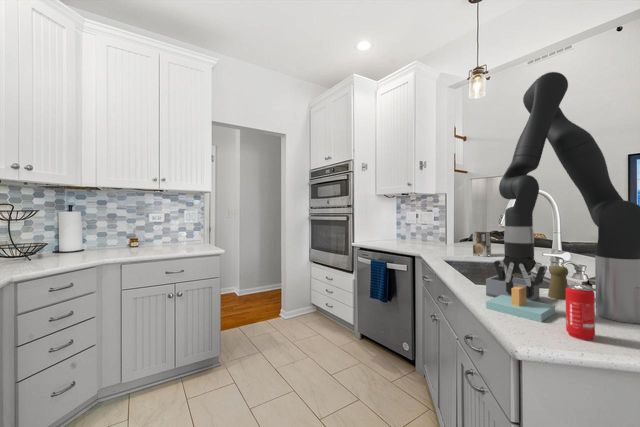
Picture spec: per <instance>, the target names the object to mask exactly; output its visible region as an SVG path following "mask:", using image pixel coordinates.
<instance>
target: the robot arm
mask: <svg viewBox="0 0 640 427" xmlns="http://www.w3.org/2000/svg"><path fill="white" fill-rule="evenodd" d="M568 89H569V81H568V79H567V77H566V76H565V75H564V74H562V73H561V72H557V71H549V72H546V73H544V74H542V75H541V76H539V77H538V78H537V79H536V80H535V81H533V83H532V84H531V85H529V87H528V88H527V90H526V91H525V92H524V95H523V97H522V98H523V99H522V100H523V106H524V107H525V109H526V111H528V113H529V117H528V119H527V122H526V124H525V126H524V127H523V130H522V132H521V134H520V136H519V137H518V140H517V143H516V145H515V148H514V153H513V156H512V160H511V163H510V164H509V166H508V167H507V168H506V170H505V172H504V174H503V176H502V177H501V179H500V182H499V184H498V186H499V187H498V192H499V194H500V195H501V197H502V198H503V199H505V200H515V201H514V203H513V206H510V207H508V208H506V209H505V211H504V230H503V231H504V232H503V242H504V244H503V246H504V247H503V248H504V249H503V250H504V257H503V259H501V260H500V259H498V260H495V261H493V263H494V264H493V265H494V267H495V270H496V273H497V275H498V276H499V279H501V280H504V281H505V282H506V291H507V292H508V294H509V295H512V292H511V288H513V282H512V280H513V278H515V275H516V274H519V275H522V277H523V279H525V281H526V284H527V286H526V298H529V299H530V298H531V297H533V296H534V286H535V285H539V286H540V285H541V284H542V282H543V280H544V277H545V275H546V272H547V270H548V267H547V265H541V264H539V263H537V262H536V259H535V233H534V226H533V225H534V224H533V223H534V221H533V218H534V216H533V213H534V209H535V207H536V204H537V200H538V197H539V194H540V193H539V192H540V186H539V183H538V182H539V181H538V180H537V179H536V178H535V177H534V176H532V175H530V174H529V173H530V172H533V171H536V169H538V167H539V165H540V162H541V158H542V154H543V152H544V148H545V144H546V141H548V142H549V145H550V146H551V148H552V149H553V151H554V153H555V155H556V157H557V159H558V160H559V162H560V164H561V166H562V167H563V169H564V170H565V172H566V173H567V175H568V177H569V178H570V180H571V181H572V182H573V184H574V186H575V187H576V188H577V189H578V191H579V193H580V194H581V196H582V199H583V200H584V203H585V206H586V207H587V210H588V213H589V215H590V217H591V220H592V222H593V224H594V225H595V226H596V227H597V229H598V230H597V231H598V232H597V236H598V238H597V243H596V246H595V247H594V254H595V255H594V257H595V260H594V261H595V262H594V263H595V264H594V265H595V267H594V268H595V271H594V272H595V274H594V276H595V279H594V280H595V315H597V316H599V317H602V318H604V319H608V320H612V321H616V322H622V323H632V324H637V325H640V205H639V204H638V203H636V202H633V201H629V200H624V199H623V197H621V195H620V193H619V192H618V191H617V189H616V188H615V186H614V185H613V183H612V181H611V178H610V174H609V171H608V165H607V161H606V158H605V156H604V153H603V152H602V150H601V148H600V147H599V146H600V145H598V143H597V141H596V140H595V138H594V137H593V135H592V134H591V133H590V132H589V131H587V130H586V129H585V128H583V127H581V126H579V125H578V124H576V123H574V122H573V121H572V120H569V119H568V118H567V116H565V114H564V113H563V111H562V109H561V107H560V105H561V103H562V101H563V99H564V98H565V96H566V93H567V91H568ZM505 266H506V268H507V271H505V269H504V267H505ZM534 268H535V271H536V272H537V273H536V276H535V278H533V277H534V275H533V273H532V270H533V269H534Z"/></svg>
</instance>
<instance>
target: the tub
mask: <svg viewBox="0 0 640 427" xmlns="http://www.w3.org/2000/svg"><path fill="white" fill-rule="evenodd" d="M512 282H513V287H516V286H518V285H522V286H527V284H526V281H525V279H524V278H519V277H514V278H513V280H512ZM485 295H486V296H488V297H492V298H495V297H497V296H500V295H506V296H511V297H512V295H509V294H508V292H507V291H506V282H505V281H504V280H501V279H499V276H498V274H497V275H495V276H494V275H493V276H491V277H488V278H485ZM539 299H540V284H539V285H535V286H534V296H533V297H531V298H530V299H529V298H527V300H530V301H535V302H537V300H539Z"/></svg>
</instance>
